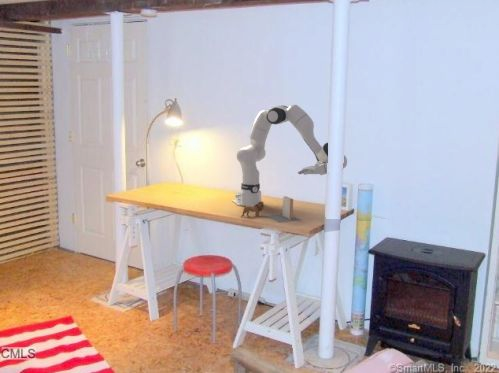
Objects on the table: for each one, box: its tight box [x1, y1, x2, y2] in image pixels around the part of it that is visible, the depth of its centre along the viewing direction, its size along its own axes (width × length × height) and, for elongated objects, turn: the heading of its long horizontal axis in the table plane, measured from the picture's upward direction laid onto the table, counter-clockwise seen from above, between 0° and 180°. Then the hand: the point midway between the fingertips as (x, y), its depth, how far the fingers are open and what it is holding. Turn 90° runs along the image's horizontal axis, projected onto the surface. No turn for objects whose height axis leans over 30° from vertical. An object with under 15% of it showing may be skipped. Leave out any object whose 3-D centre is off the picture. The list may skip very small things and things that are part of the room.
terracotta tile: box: [282, 196, 294, 219], centre depth 326 cm, size 8×2×12 cm, turn 28°
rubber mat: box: [264, 213, 303, 224], centre depth 326 cm, size 18×16×1 cm
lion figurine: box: [240, 201, 265, 218], centre depth 330 cm, size 15×5×9 cm, turn 112°
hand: (301, 173), depth 326 cm, fingers open, 8 cm apart
